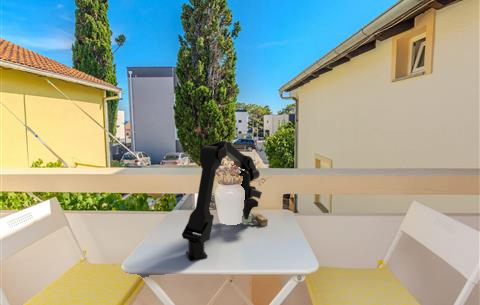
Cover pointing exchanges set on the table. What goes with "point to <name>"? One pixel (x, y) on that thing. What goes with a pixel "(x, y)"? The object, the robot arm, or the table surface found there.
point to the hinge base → (259, 220)
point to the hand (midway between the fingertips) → (243, 216)
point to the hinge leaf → (251, 217)
